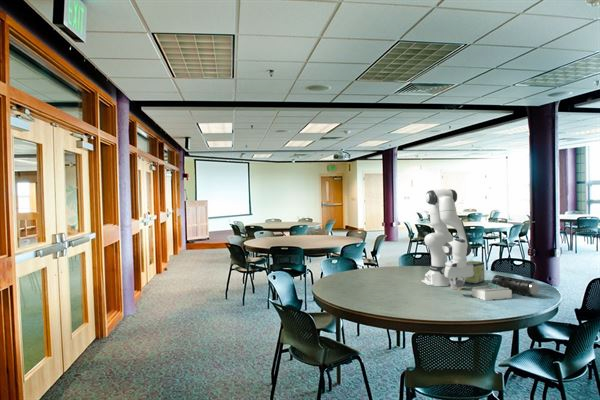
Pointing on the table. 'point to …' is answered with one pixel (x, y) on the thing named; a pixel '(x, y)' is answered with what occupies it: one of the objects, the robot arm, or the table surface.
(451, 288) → the house plant
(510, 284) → the muzzle brake
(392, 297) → the table surface
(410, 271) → the table surface
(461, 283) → the plug
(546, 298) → the table surface
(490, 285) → the shutter
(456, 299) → the table surface
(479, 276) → the protein box
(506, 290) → the socket box
